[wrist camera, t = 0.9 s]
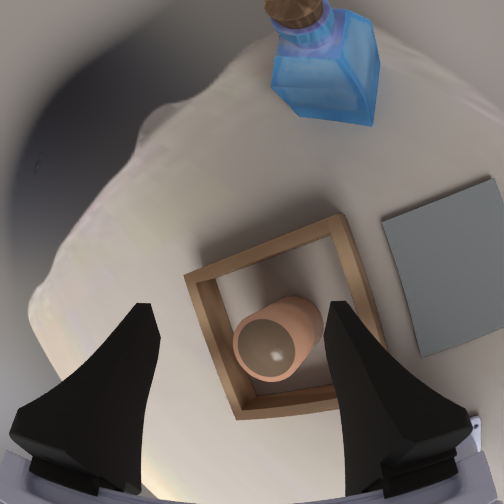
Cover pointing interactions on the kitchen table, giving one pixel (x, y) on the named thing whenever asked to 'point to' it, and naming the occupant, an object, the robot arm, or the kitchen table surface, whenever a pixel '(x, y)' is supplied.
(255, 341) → the terracotta pot
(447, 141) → the kitchen table surface
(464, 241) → the slate mat
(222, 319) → the wooden square frame
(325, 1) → the perfume bottle
